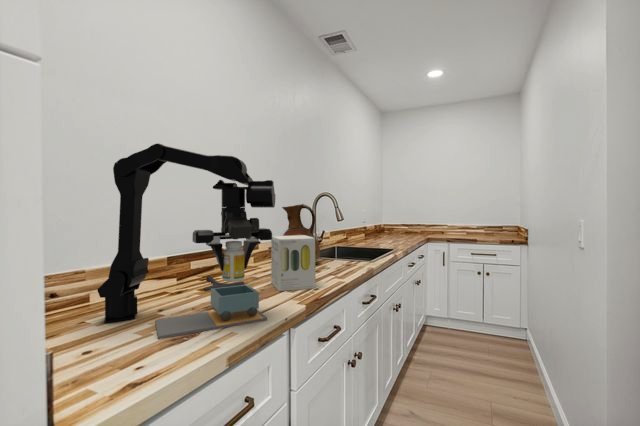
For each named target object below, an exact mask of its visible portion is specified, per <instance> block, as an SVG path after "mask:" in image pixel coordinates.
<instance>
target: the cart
mask: <svg viewBox="0 0 640 426" xmlns="http://www.w3.org/2000/svg"><path fill="white" fill-rule="evenodd" d="M259 295H260V292H259V291H258V290H256V289H255V288H254V287H252V286H250V285H249V284H244V285H238V286H230V287H221V288H213V289H211V290H210V305H211V307H212V309H213V311H214V310H215V311H216V312H217V313H218V314H219V315H220V318H221V320H223V321H228V320H229V319H230V318H231V313H232V312H239V311H245V310H247V311H246V312H247V314H248V315H249V316H250V317H253V316H255V315H256V314H257V310H258V309H259V308H260V305H259V304H260V303H259V301H260V297H259Z"/></svg>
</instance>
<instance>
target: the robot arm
mask: <svg viewBox="0 0 640 426" xmlns="http://www.w3.org/2000/svg"><path fill="white" fill-rule="evenodd" d="M167 162H168V163H172V164H176V165H181V166H185V167H189V168H194V169H198V170H204V171H207V172H209V173H212V174H214V175H216V176H219V177H221V178H223V179H226V180H230V181H232V182H225V181H224V180H222V179H218V181H217V182H216V183H215V184H214V185H213V186H212V189H214V190H218V191H219V190H220V191H221V212H220V216H221V227H220V232H219V231H218V232H214V231H213V230H212V229H195V230H194V231H193V232H192V243H195V244H205V245H206V246H208V247H210V248H211V250H212V252H213V254H214V256H215V258H216V262H217V264H218V266H219V269H220V271H221V272H222V271H223V243H222V242H221V240H238V239H245V240H243V242H242V246H243V248H242V250H243V251H244V253H245V259H244V270H246V269H247V267H248V264H249V261H250V258H251V256H252V253H253V252H254V250H255V248H256V246H258V245H260V244H261V243H262V242H261V241H271V240H272V236H273V232H272V230H271V229H270V228H265V227H263V228H262V227H260V219H259V218H258V217H250V218H249V219H248V218H247V211H246V204H249V206H250V208H258V209H259V208H260V209H261V208H275V207H276V193H275V185H274V181H273V180H272V179H271V180H270V179H269V180H268V179H267V180H253V178H251V176H250V175H249V173H248V169H247V165H246V164H245V162H244V161H243V160H241V159H240V158H238V157H236V156H234V155H220V154H219V155H207V154H202V153H198V152H194V151H189V150H185V149H181V148H177V147H172V146H169V145H168V146H167V145H164V144H161V143H154V144H152V145H151V146H149V147H147V148H145V149H143V150H142V149H141V150H139V151H137V152H135V153H132V154H130V155H128V156H127V157H122V158H119V159H118V160H117V161H116V162H115V163H114V164H113V166H112V167H113V168H112V169H113V170H112V171H113V172H112V173H113V179H114V184H115V186H116V188H117V190H118V193H119V195H120V198H119V199H120V200H119V203H120V204H119V215H118V216H119V220H118V243H117V253H116V255H115V257H114V259H113V260H112V262H111V264H110V268H109V274H108V278H107V279H106V280H105V281H104V282H103V283H102V284H101V285H100V286H99V287H98V288H97V293H98V297H99V298H104V320H103V323H105V324H107V323H114V322H120V321H126V320H127V321H128V320H135V319H136V315H137V314H138V296H137V295H135V294H136V293H135V291H136V290H139V288H140V285H141V283H142V282H143V281H145V280H146V277H147V274H149V270H148V265H149V257H143V255H142V253H141V235H142V234H141V232H142V231H141V230H142V214H143V213H142V212H143V195H144V194H145V192H146V190H147V188H149V187H148V186H149V183H150V180H151V179H150V178H151V176H152V175H153V174H155V173H156V172H157V171H159V170H160V168H162V166H163V165H165V164H166V163H167ZM236 182H237V183H239V184H242V185H244V186H238V184H237V183H236ZM245 185H246V186H245Z"/></svg>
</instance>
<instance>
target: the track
mask: <svg viewBox="0 0 640 426" xmlns="http://www.w3.org/2000/svg"><path fill="white" fill-rule="evenodd" d="M246 311H247V310H245V311H239V312H232V313H231V318H230V319H229V320H228V321H223V320H221V318H220V315H219V314H218V313H217V312H216V311H215V310H214V309H213V310H209V311H206V312H205V311H204V312H198V313H191V314H190V313H189V314H184V315H178V316H171V317H163V318H157V319H155V321H154V323H155V328H156V334H157V335H156V336H157V340H161V339H166V338H173V337H179V336H184V335H188V334H189V335H190V334H195V333H202V332H207V331H213V330H218V329H223V328H230V327H235V326H241V325H248V324H252V323H257V322H264V321H267V320H268V317H267V316H266V315H265V314H264V313H262V312H261V311H260V310H258V309H257V314H256V315H255V316H253V317H250V316H249V315H248V314H247V312H246Z"/></svg>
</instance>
